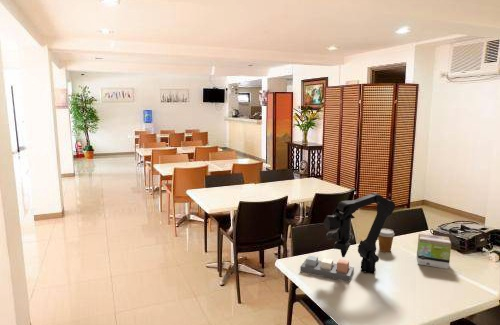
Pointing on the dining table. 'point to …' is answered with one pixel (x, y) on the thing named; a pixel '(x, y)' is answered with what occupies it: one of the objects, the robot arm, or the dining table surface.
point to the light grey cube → (312, 261)
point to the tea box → (433, 251)
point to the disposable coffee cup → (385, 240)
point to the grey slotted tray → (327, 271)
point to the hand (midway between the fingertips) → (343, 256)
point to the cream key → (327, 264)
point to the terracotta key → (343, 266)
